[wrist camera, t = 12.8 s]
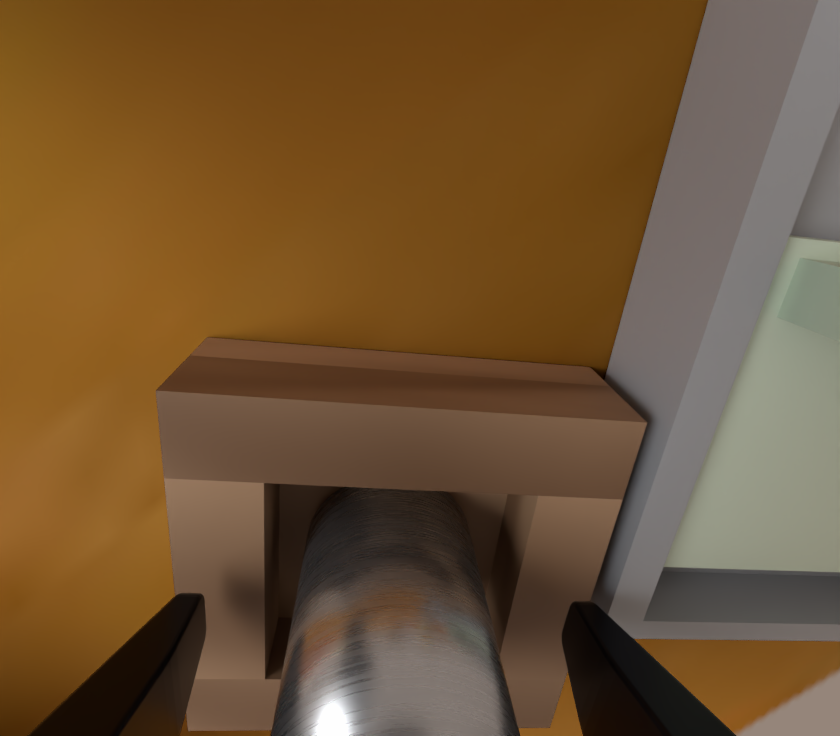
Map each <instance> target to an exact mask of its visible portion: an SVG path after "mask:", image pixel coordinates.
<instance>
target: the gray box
mask: <svg viewBox="0 0 840 736" xmlns="http://www.w3.org/2000/svg"><path fill="white" fill-rule="evenodd" d="M790 235H792V236H801V237H810V238H818V239H827V240H836V241H840V0H708V3H707V7H706V11H705V14H704V18H703V21H702V25H701V29H700V32H699V36H698V40H697V43H696V47H695V51H694V54H693V58H692V62H691V65H690V69H689V73H688V76H687V80H686V84H685V87H684V91H683V95H682V98H681V102H680V106H679V109H678V113H677V116H676V120H675V124H674V127H673V131H672V135H671V138H670V142H669V146H668V149H667V153H666V157H665V160H664V164H663V168H662V171H661V175H660V179H659V182H658V186H657V190H656V193H655V197H654V201H653V204H652V208H651V211H650V215H649V219H648V222H647V226H646V230H645V233H644V237H643V241H642V244H641V248H640V252H639V255H638V259H637V263H636V266H635V270H634V274H633V277H632V281H631V285H630V288H629V292H628V296H627V299H626V303H625V306H624V310H623V314H622V317H621V321H620V325H619V328H618V332H617V336H616V339H615V343H614V347H613V350H612V354H611V358H610V361H609V365H608V369H607V372H606V376H605V380H604V381H605V382H606V383H607V384H608V385H609V386H610V387H611V388H612V389H613V390H614V391H615V392H616V393H617V394H618V395H619V396H620V397H621V398H622V399H623V400H624V401H625V402H627V403H628V404H629V405H630V406H631V407H632V408H633V409H634V410H635V411H636V412H637V413H638V414H639V415H640V416H641V417H642V418H643V419H644V420H645V421H646V422H647V425H646V428H645V432H644V435H643V438H642V441H641V444H640V447H639V450H638V453H637V457H636V460H635V463H634V466H633V469H632V472H631V475H630V478H629V482H628V485H627V488H626V491H625V494H624V497H623V500H622V503H621V507H620V510H619V513H618V516H617V519H616V522H615V525H614V528H613V532H612V535H611V538H610V541H609V544H608V547H607V550H606V553H605V557H604V560H603V563H602V566H601V569H600V572H599V575H598V578H597V581H596V585H595V588H594V591H593V594H592V597H591V600H590V602H594V603H595V604H597V605H598V606H599V607H600V608H601V609H602V610H603V611H604V612H605V613H606V614H608V615H609V616H610V617H611V618H612V619H613V620H614V621H615V622H616V623H617V624H618V625H619V626H620V627H621V628H622V629H624V630H625V631H626V632H627V633H628V634H629V635H630V636H631V637H632V638H633V639H700V640H780V641H840V572H812V571H779V570H745V569H712V568H679V567H664V564H665V562H666V559H667V556H668V554H669V551H670V549H671V546H672V543H673V541H674V538H675V535H676V533H677V530H678V528H679V525H680V522H681V520H682V517H683V514H684V512H685V509H686V507H687V504H688V501H689V499H690V496H691V493H692V491H693V488H694V485H695V483H696V480H697V478H698V475H699V472H700V470H701V467H702V464H703V462H704V459H705V457H706V454H707V451H708V449H709V446H710V443H711V441H712V438H713V436H714V433H715V430H716V428H717V425H718V422H719V420H720V417H721V414H722V412H723V409H724V407H725V404H726V401H727V399H728V396H729V393H730V391H731V388H732V386H733V383H734V380H735V378H736V375H737V372H738V370H739V367H740V365H741V362H742V359H743V357H744V354H745V351H746V349H747V346H748V344H749V341H750V338H751V336H752V333H753V330H754V328H755V325H756V322H757V320H758V317H759V315H760V312H761V309H762V307H763V304H764V301H765V299H766V296H767V294H768V291H769V288H770V286H771V283H772V280H773V278H774V275H775V273H776V270H777V267H778V265H779V262H780V259H781V257H782V254H783V252H784V249H785V246H786V244H787V241H788V238H789V236H790Z"/></svg>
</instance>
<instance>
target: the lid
mask: <svg viewBox="0 0 840 736" xmlns="http://www.w3.org/2000/svg"><path fill="white" fill-rule="evenodd" d="M664 567H679V568H712V569H745V570H779V571H812V572H840V241H836V240H827V239H818V238H810V237H801V236H792V235H790V236H789V238H788V241H787V244H786V246H785V249H784V252H783V254H782V257H781V259H780V262H779V265H778V267H777V270H776V273H775V275H774V278H773V280H772V283H771V286H770V288H769V291H768V294H767V296H766V299H765V301H764V304H763V307H762V309H761V312H760V315H759V317H758V320H757V322H756V325H755V328H754V330H753V333H752V336H751V338H750V341H749V344H748V346H747V349H746V351H745V354H744V357H743V359H742V362H741V365H740V367H739V370H738V372H737V375H736V378H735V380H734V383H733V386H732V388H731V391H730V393H729V396H728V399H727V401H726V404H725V407H724V409H723V412H722V414H721V417H720V420H719V422H718V425H717V428H716V430H715V433H714V436H713V438H712V441H711V443H710V446H709V449H708V451H707V454H706V457H705V459H704V462H703V464H702V467H701V470H700V472H699V475H698V478H697V480H696V483H695V485H694V488H693V491H692V493H691V496H690V499H689V501H688V504H687V507H686V509H685V512H684V514H683V517H682V520H681V522H680V525H679V528H678V530H677V533H676V535H675V538H674V541H673V543H672V546H671V549H670V551H669V554H668V556H667V559H666V562H665V564H664Z"/></svg>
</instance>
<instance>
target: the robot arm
mask: <svg viewBox="0 0 840 736" xmlns="http://www.w3.org/2000/svg"><path fill="white" fill-rule="evenodd" d="M205 637H206V612H205V599H204V596H203V594H201V593H179V594H177V595H176V596H175V597H173V598H172V599H171V600H170V601H169V602H168V603H167V604H166V605H165V606H164V607H163V608H162V609H161V610H160V611H159V612H158V613H157V614H155V615H154V616H153V617H152V618H151V619H150V620H149V621H148V622H147V623H146V624H145V625H144V626H143V627H142V628H141V629H140V630H139V631H137V632H136V633H135V634H134V635H133V636H132V637H131V638H130V639H129V640H128V641H127V642H126V643H125V644H124V645H123V646H122V647H121V648H120V649H118V650H117V651H116V652H115V653H114V654H113V655H112V656H111V657H110V658H109V659H108V660H107V661H106V662H105V663H104V664H103V665H102V666H100V667H99V668H98V669H97V670H96V671H95V672H94V673H93V674H92V675H91V676H90V677H89V678H88V679H87V680H86V681H85V682H84V683H82V684H81V685H80V686H79V687H78V688H77V689H76V690H75V691H74V692H73V693H72V694H71V695H70V696H69V697H68V698H67V699H66V700H65V701H63V702H62V703H61V704H60V705H59V706H58V707H57V708H56V709H55V710H54V711H53V712H52V713H51V714H50V715H49V716H48V717H47V718H45V719H44V720H43V721H42V722H41V723H40V724H39V725H38V726H37V727H36V728H35V729H34V730H33V731H32V732H31V733H30V734H29V735H27V736H179V735H180V732H181V728H182V725H183V721H184V717H185V714H186V710H187V706H188V702H189V699H190V695H191V691H192V687H193V683H194V680H195V676H196V672H197V668H198V664H199V661H200V657H201V653H202V649H203V645H204V642H205ZM562 647H563V651H564V656H565V660H566V664H567V669H568V673H569V678H570V682H571V686H572V691H573V695H574V700H575V704H576V709H577V713H578V717H579V722H580V726H581V730H582V734H583V736H736V735H735V734H734V733H733V732H732V731H731V730H730V729H729V728H728V727H727V726H726V725H725V724H723V723H722V722H721V721H720V720H719V719H718V718H717V717H716V716H715V715H714V714H713V713H712V712H711V711H710V710H709V709H708V708H706V707H705V706H704V705H703V704H702V703H701V702H700V701H699V700H698V699H697V698H696V697H695V696H694V695H693V694H692V693H691V692H689V691H688V690H687V689H686V688H685V687H684V686H683V685H682V684H681V683H680V682H679V681H678V680H677V679H676V678H675V677H673V676H672V675H671V674H670V673H669V672H668V671H667V670H666V669H665V668H664V667H663V666H662V665H661V664H660V663H659V662H658V661H656V660H655V659H654V658H653V657H652V656H651V655H650V654H649V653H648V652H647V651H646V650H645V649H644V648H643V647H642V646H641V645H639V644H638V643H637V642H636V641H635V640H634V639H633V638H632V637H631V636H630V635H629V634H628V633H627V632H626V631H625V630H624V629H622V628H621V627H620V626H619V625H618V624H617V623H616V622H615V621H614V620H613V619H612V618H611V617H610V616H609V615H608V614H606V613H605V612H604V611H603V610H602V609H601V608H600V607H599V606H598V605H597V604H595V603H594V602H590V601H574V602H572V603H571V605H570V607H569V610H568V613H567V617H566V620H565V623H564V627H563V630H562Z"/></svg>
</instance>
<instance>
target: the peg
mask: <svg viewBox="0 0 840 736" xmlns="http://www.w3.org/2000/svg"><path fill="white" fill-rule="evenodd" d="M271 736H520V733H519V729H518V725H517V721H516V717H515V713H514V709H513V705H512V701H511V697H510V693H509V689H508V685H507V681H506V677H505V673H504V669H503V665H502V661H501V657H500V652H499V648H498V644H497V640H496V636H495V632H494V628H493V624H492V620H491V616H490V612H489V608H488V604H487V600H486V596H485V592H484V588H483V584H482V580H481V576H480V572H479V568H478V563H477V559H476V555H475V551H474V547H473V543H472V539H471V535H470V531H469V527H468V523H467V519H466V517H465V514H464V512H463V510H462V509H461V507H460V505H459V504H458V503H457V502H456V500H455V499H454V498H453V497H452V496H451V495H450V494H449V493H447V492H446V491H425V490H403V489H382V488H360V487H342V488H340V489H339V490H337V491H336V492H334V493H333V494H332V495H331V496H329V497H328V498H327V499H326V500H325V501H324V502H323V503H322V505H321V506H320V507H319V508H318V510H317V511H316V513H315V515H314V517H313V519H312V521H311V524H310V527H309V530H308V536H307V541H306V547H305V552H304V557H303V563H302V568H301V574H300V579H299V584H298V590H297V595H296V601H295V606H294V612H293V617H292V622H291V628H290V633H289V639H288V644H287V649H286V655H285V660H284V666H283V671H282V677H281V682H280V687H279V693H278V698H277V704H276V709H275V714H274V720H273V725H272V731H271Z"/></svg>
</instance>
